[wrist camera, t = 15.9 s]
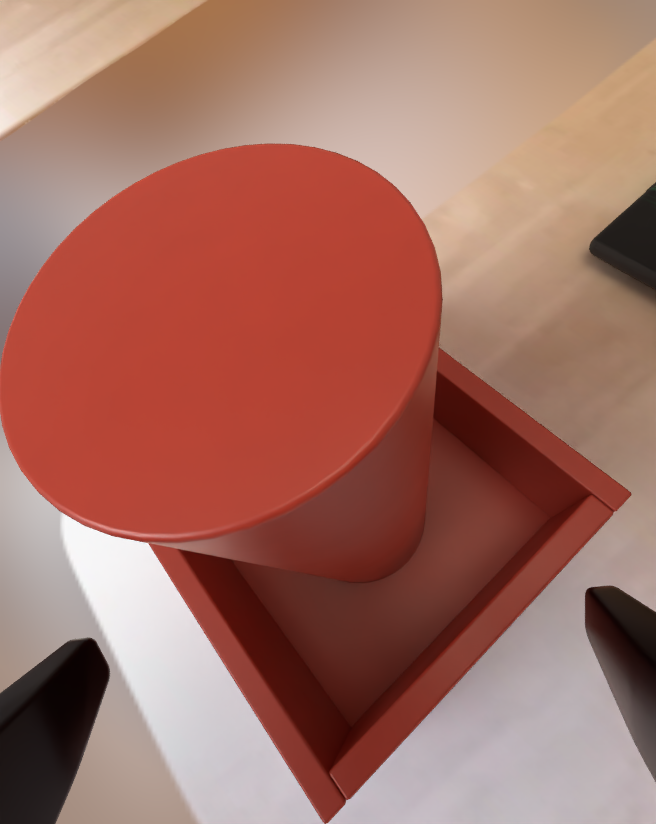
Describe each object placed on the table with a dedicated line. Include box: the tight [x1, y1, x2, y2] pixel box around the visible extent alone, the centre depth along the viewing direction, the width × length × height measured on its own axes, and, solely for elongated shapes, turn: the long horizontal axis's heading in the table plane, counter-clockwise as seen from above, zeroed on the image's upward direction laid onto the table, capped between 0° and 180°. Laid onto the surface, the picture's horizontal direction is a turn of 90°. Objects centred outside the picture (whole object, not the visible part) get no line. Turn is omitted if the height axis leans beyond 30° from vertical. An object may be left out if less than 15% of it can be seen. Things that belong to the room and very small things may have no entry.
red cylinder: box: [0, 144, 443, 583], centre depth 10 cm, size 5×5×13 cm
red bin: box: [148, 348, 631, 824], centre depth 15 cm, size 11×11×5 cm
